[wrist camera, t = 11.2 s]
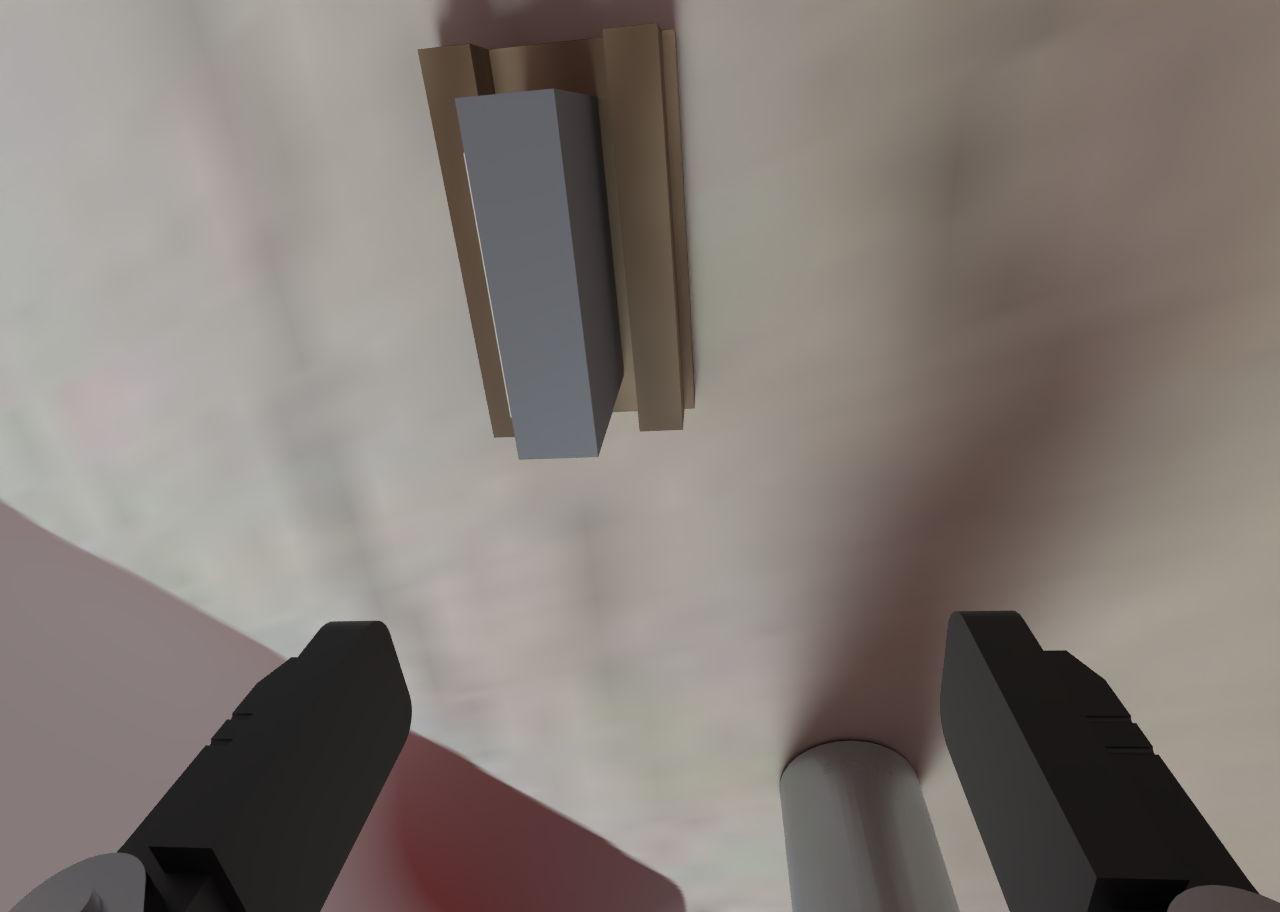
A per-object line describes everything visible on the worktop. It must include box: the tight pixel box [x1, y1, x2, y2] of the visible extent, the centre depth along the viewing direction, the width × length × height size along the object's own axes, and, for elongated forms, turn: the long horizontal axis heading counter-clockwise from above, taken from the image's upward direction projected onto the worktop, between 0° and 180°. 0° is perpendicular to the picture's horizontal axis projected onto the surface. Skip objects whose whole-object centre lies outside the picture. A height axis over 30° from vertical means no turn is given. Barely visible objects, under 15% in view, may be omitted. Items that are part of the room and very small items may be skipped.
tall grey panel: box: [455, 89, 624, 460], centre depth 27 cm, size 3×12×9 cm, turn 5°
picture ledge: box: [418, 23, 695, 438], centre depth 30 cm, size 10×16×4 cm, turn 5°
